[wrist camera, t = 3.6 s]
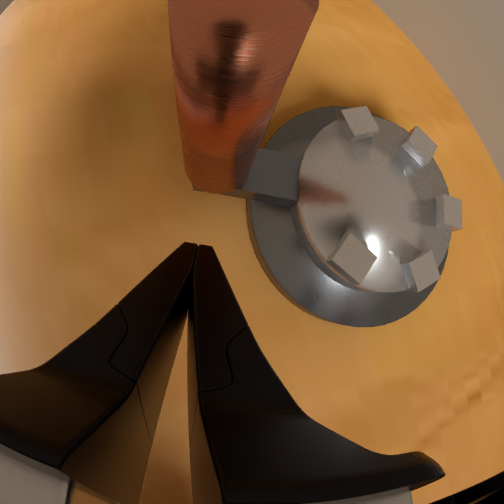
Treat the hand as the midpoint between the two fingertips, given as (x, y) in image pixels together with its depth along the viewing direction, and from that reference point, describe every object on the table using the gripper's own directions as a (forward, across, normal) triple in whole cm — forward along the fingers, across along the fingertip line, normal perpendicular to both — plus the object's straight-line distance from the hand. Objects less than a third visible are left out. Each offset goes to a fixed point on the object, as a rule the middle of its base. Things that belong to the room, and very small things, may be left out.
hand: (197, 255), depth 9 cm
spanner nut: (+8, -6, +1) cm, 10 cm away
